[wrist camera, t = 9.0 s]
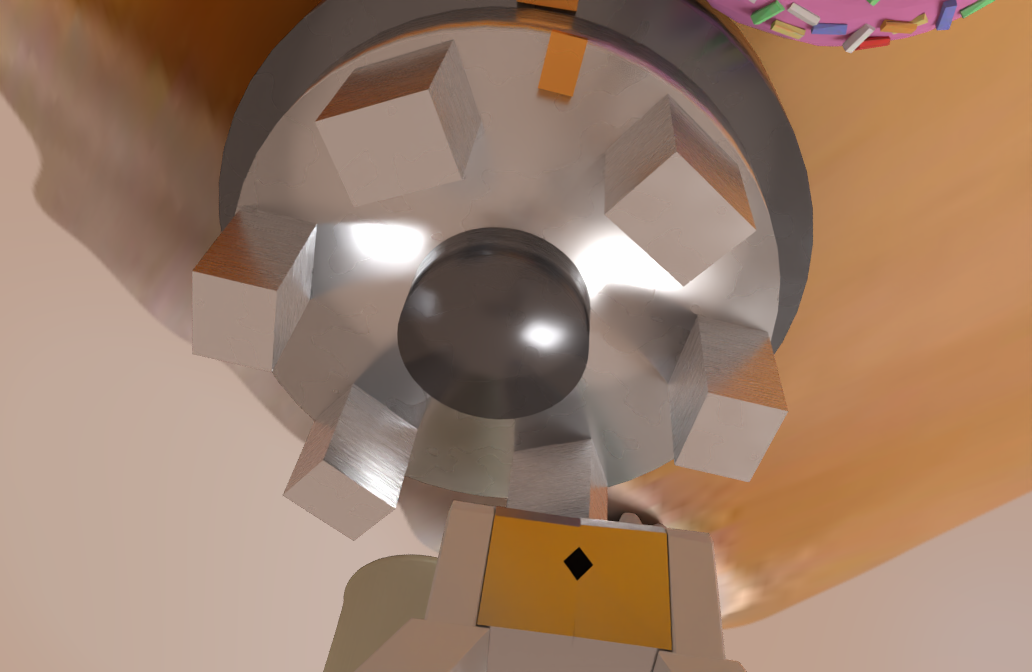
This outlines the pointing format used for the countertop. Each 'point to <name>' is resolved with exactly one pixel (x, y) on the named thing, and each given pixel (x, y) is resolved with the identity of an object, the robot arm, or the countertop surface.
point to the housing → (611, 3)
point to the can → (379, 607)
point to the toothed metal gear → (501, 270)
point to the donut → (847, 19)
